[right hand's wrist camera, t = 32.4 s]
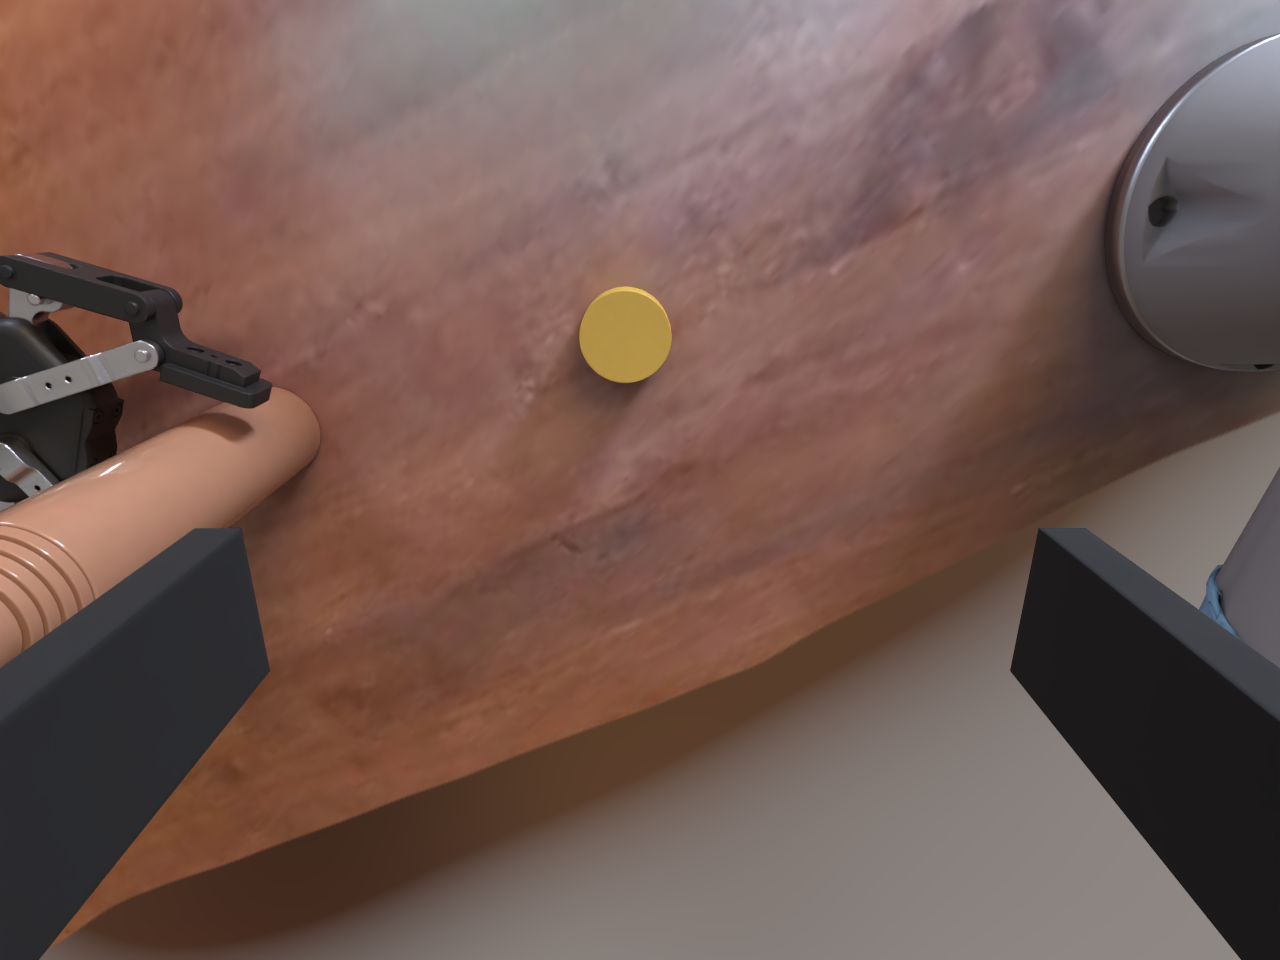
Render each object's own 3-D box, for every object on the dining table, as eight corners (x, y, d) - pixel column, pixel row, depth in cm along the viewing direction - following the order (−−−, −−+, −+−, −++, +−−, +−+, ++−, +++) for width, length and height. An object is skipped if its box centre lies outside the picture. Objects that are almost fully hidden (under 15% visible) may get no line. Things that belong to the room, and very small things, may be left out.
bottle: (217, 391, 39) (-262, 607, 18) (307, 381, 39) (-69, 587, 18) (244, 477, 41) (-166, 766, 20) (331, 467, 40) (11, 749, 20)
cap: (597, 386, 39) (595, 394, 37) (569, 301, 38) (566, 306, 36) (680, 361, 39) (682, 368, 37) (655, 275, 37) (656, 278, 35)
